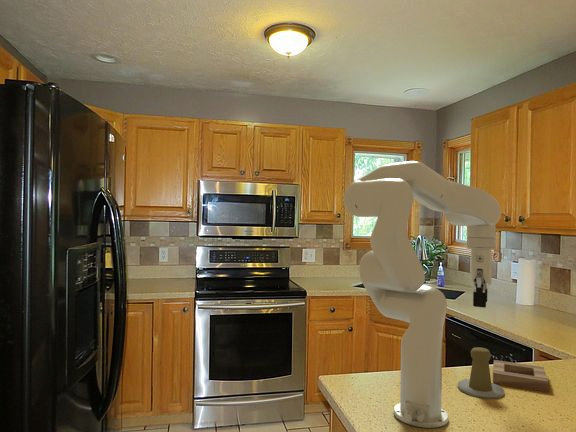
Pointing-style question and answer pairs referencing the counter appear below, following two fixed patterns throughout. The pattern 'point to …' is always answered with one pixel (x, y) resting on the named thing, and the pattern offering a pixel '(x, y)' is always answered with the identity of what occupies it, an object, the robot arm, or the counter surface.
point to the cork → (480, 370)
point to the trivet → (495, 392)
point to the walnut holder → (520, 375)
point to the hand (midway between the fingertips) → (480, 304)
